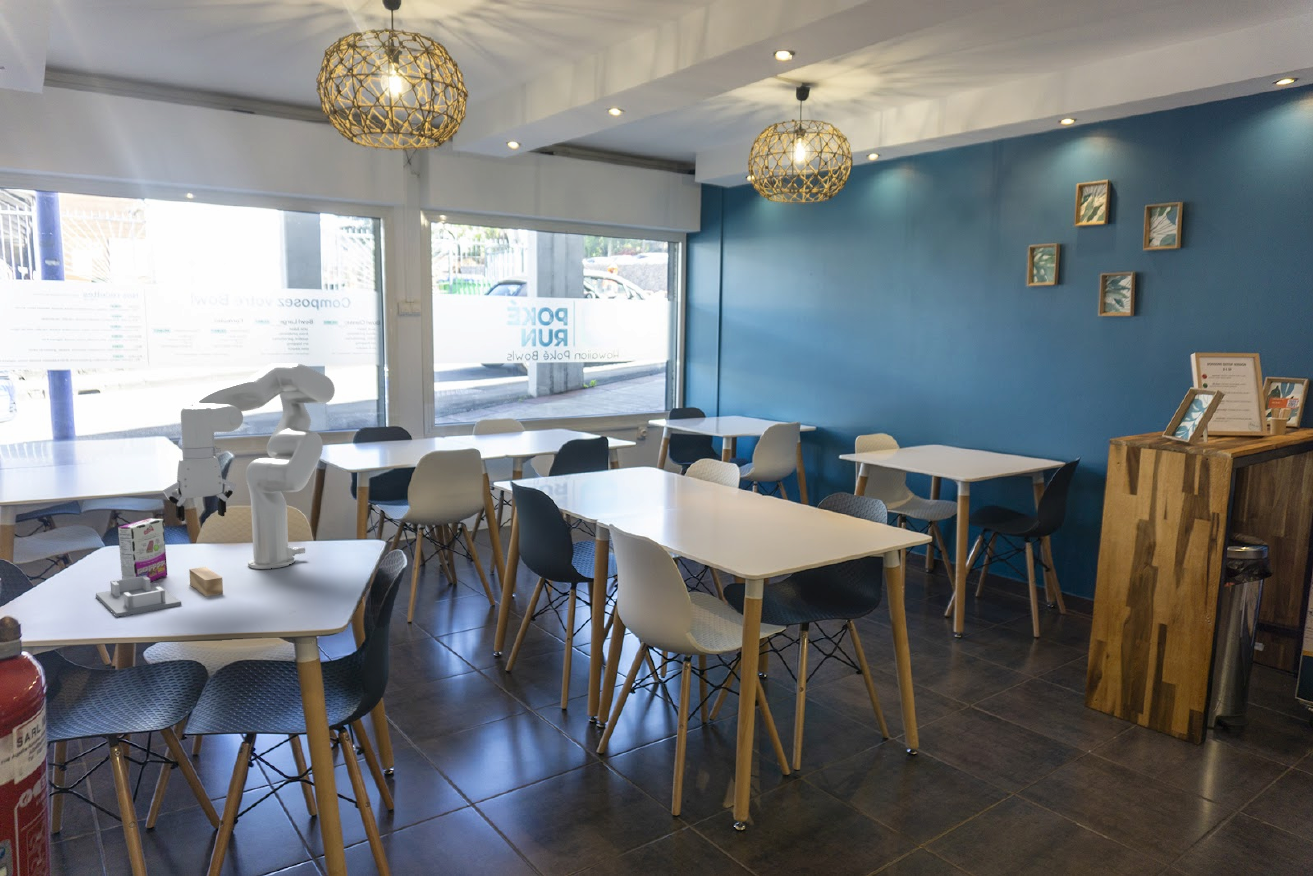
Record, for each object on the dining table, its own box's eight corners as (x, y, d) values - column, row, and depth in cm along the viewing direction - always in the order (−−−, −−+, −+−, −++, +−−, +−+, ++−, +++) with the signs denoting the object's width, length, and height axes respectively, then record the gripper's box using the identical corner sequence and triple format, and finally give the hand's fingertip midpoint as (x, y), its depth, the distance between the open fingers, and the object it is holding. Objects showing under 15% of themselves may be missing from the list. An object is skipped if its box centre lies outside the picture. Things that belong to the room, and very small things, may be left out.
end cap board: (157, 586, 230) (156, 571, 230) (181, 605, 214) (180, 589, 214) (96, 597, 220) (95, 581, 220) (116, 617, 205) (115, 601, 204)
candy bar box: (152, 575, 241) (149, 517, 239) (168, 576, 240) (164, 518, 238) (120, 586, 230) (116, 526, 228) (136, 587, 229) (132, 527, 227)
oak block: (206, 582, 235) (205, 566, 234) (223, 594, 225) (222, 577, 224) (190, 585, 232) (189, 569, 232) (206, 597, 222) (205, 580, 222)
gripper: (229, 449, 233) (231, 511, 235) (157, 454, 221) (161, 520, 223) (238, 452, 228) (241, 516, 229) (166, 457, 216) (169, 524, 217)
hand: (201, 518), depth 226 cm, fingers open, 9 cm apart
